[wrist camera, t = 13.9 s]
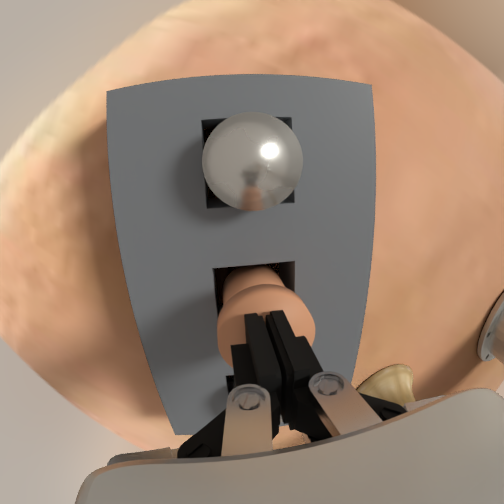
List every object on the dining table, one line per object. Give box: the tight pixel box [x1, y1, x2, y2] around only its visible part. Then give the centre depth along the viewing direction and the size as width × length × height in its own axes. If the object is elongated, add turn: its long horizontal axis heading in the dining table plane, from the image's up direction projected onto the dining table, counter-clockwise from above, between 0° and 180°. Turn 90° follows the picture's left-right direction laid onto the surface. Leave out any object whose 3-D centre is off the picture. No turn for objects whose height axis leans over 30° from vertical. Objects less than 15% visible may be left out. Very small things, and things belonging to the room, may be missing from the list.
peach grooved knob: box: [217, 264, 315, 368], centre depth 14 cm, size 4×4×5 cm
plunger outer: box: [202, 112, 303, 211], centre depth 14 cm, size 4×4×5 cm
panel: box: [107, 74, 376, 435], centre depth 17 cm, size 14×24×4 cm, turn 3°
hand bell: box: [356, 364, 416, 406], centre depth 18 cm, size 8×8×16 cm
